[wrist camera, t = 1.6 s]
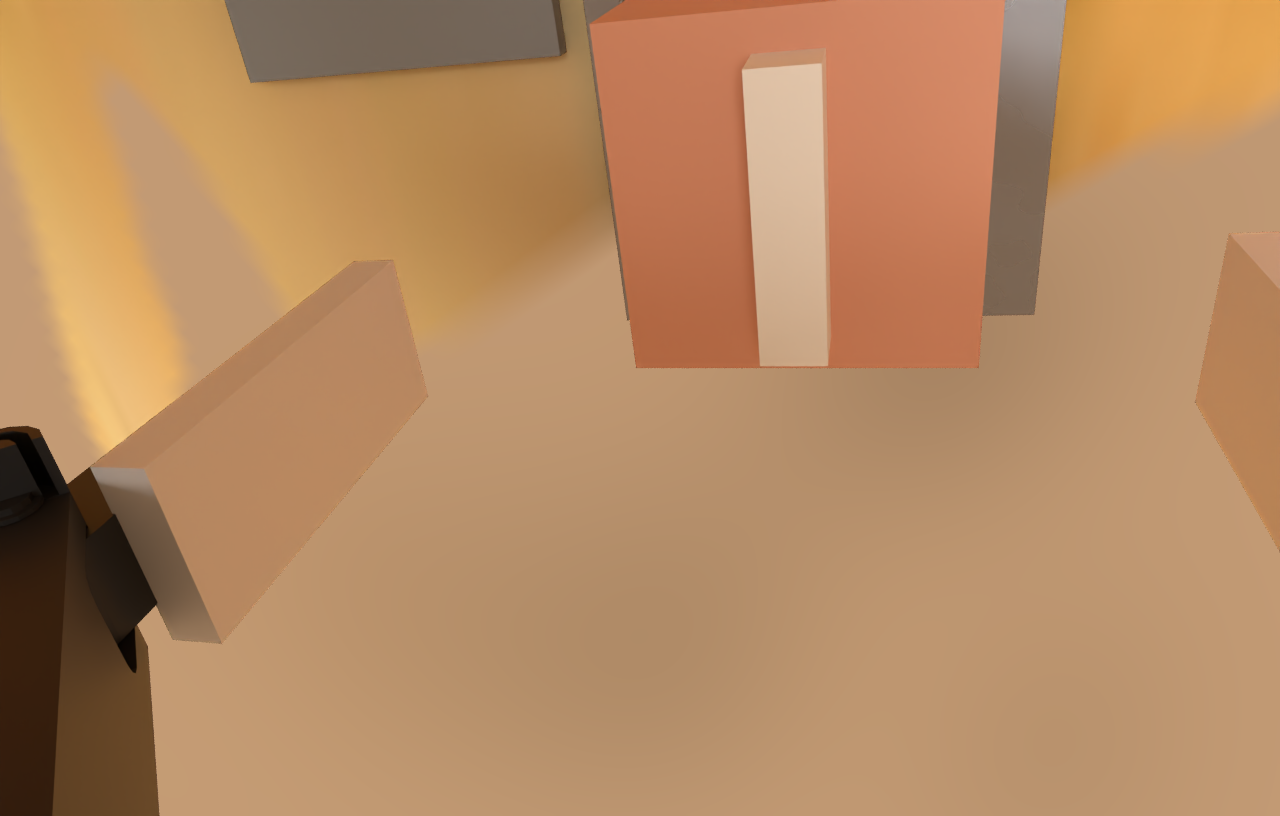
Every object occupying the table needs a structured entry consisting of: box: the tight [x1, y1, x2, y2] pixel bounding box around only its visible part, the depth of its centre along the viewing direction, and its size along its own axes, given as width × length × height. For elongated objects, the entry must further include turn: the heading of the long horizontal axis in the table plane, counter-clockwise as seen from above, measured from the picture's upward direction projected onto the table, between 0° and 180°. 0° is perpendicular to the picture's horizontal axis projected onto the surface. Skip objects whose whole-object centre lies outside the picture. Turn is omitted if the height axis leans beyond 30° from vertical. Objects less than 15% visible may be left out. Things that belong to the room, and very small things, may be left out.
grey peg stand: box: [583, 0, 1066, 320], centre depth 23 cm, size 12×12×7 cm
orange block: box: [589, 0, 1005, 368], centre depth 21 cm, size 8×8×7 cm
